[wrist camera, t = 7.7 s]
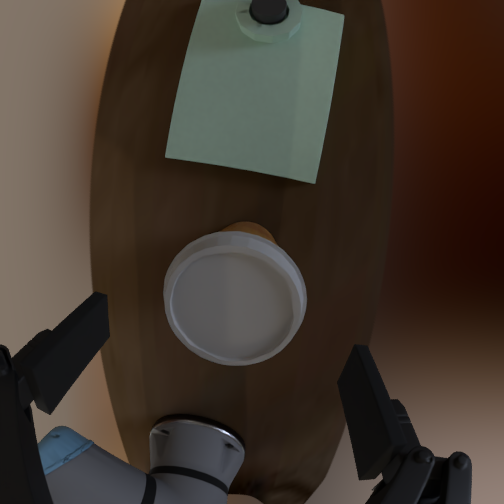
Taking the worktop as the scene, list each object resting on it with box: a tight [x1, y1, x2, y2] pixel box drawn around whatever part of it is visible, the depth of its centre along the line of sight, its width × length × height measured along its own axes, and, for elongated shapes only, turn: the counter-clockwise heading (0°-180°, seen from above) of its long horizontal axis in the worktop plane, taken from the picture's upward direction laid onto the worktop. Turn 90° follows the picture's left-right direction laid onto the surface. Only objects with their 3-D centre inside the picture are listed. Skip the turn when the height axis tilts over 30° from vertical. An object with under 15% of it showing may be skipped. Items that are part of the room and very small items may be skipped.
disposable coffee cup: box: [163, 221, 307, 365], centre depth 24 cm, size 10×10×12 cm
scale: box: [165, 0, 344, 184], centre depth 23 cm, size 18×14×3 cm
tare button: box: [251, 0, 287, 24], centre depth 19 cm, size 3×3×2 cm
